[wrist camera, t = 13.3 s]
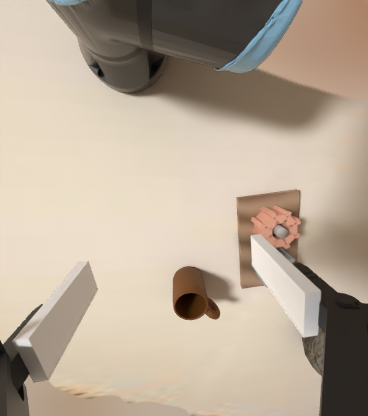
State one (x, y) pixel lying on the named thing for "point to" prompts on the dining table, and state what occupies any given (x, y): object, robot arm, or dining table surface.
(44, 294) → the dining table surface
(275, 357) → the dining table surface
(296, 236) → the gear
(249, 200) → the gear board
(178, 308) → the mug
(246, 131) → the dining table surface
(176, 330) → the dining table surface
